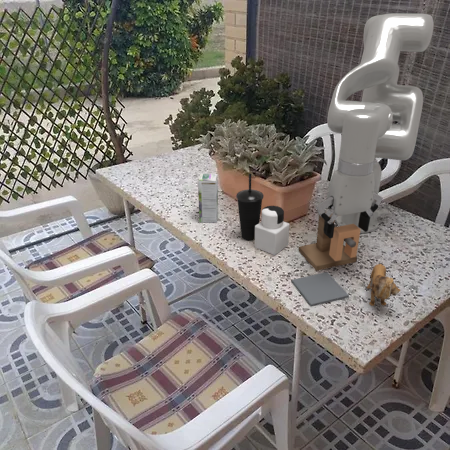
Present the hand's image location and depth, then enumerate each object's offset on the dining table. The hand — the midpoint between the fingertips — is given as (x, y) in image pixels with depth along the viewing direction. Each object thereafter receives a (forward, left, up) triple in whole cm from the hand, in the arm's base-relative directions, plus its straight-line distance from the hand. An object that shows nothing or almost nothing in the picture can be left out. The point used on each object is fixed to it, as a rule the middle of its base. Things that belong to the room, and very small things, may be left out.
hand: (345, 232), depth 103 cm
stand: (0, -5, -12) cm, 13 cm away
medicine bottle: (+12, -17, -12) cm, 24 cm away
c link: (0, 0, -7) cm, 7 cm away
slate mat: (+9, +5, -12) cm, 15 cm away
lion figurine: (-3, +12, -12) cm, 17 cm away
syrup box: (+24, -39, -12) cm, 48 cm away
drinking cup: (+16, -24, -12) cm, 31 cm away
